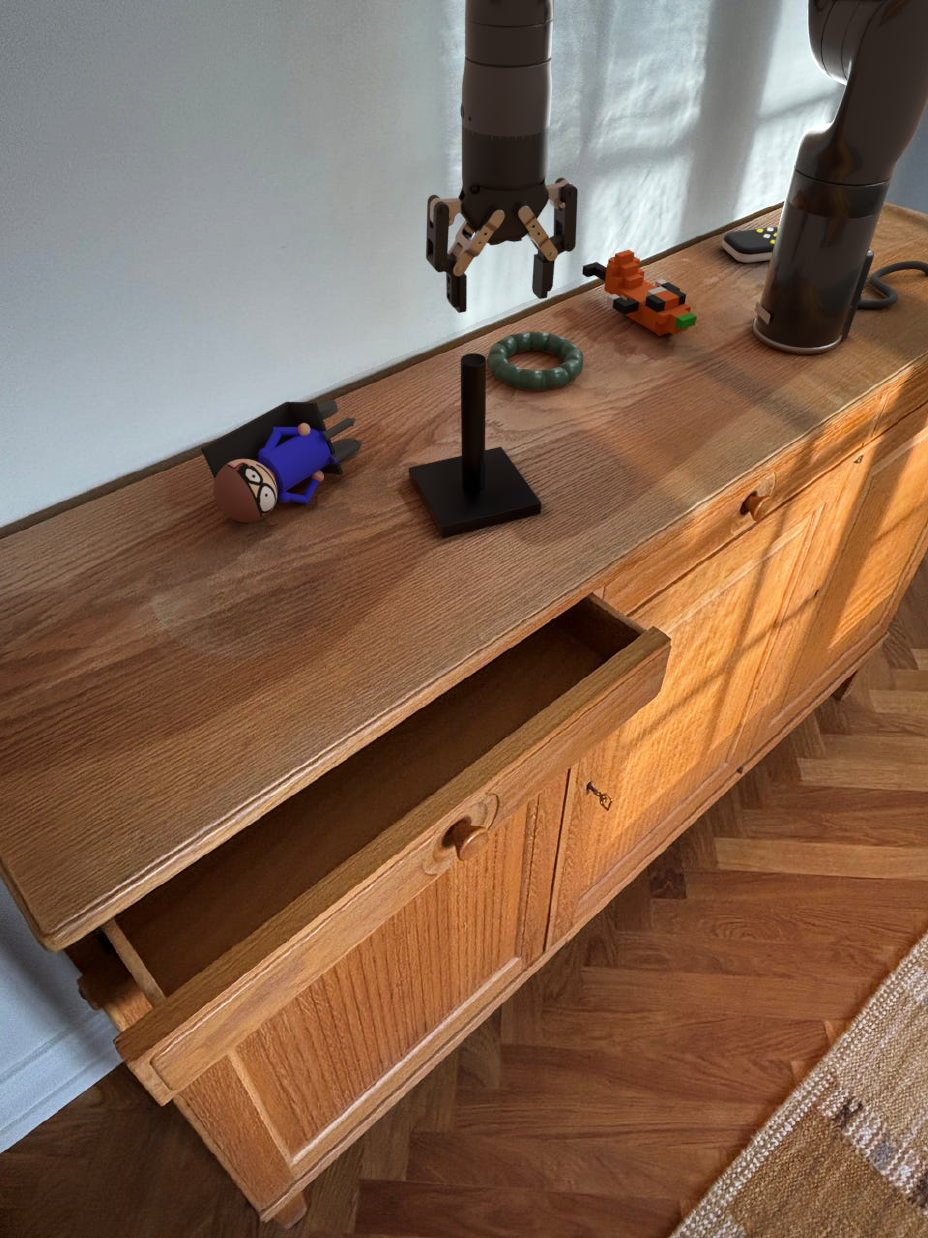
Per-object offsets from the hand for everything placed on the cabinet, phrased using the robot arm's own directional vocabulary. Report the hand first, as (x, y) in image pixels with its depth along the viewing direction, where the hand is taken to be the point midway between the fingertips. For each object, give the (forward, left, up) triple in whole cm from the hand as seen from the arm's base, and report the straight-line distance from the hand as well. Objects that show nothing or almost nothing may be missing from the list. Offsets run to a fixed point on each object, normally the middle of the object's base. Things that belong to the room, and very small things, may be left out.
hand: (500, 302), depth 85 cm
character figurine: (+25, +12, -8) cm, 29 cm away
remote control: (-45, -16, -8) cm, 49 cm away
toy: (-20, -6, -8) cm, 23 cm away
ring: (-4, 0, -7) cm, 8 cm away
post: (+10, +18, -8) cm, 22 cm away
